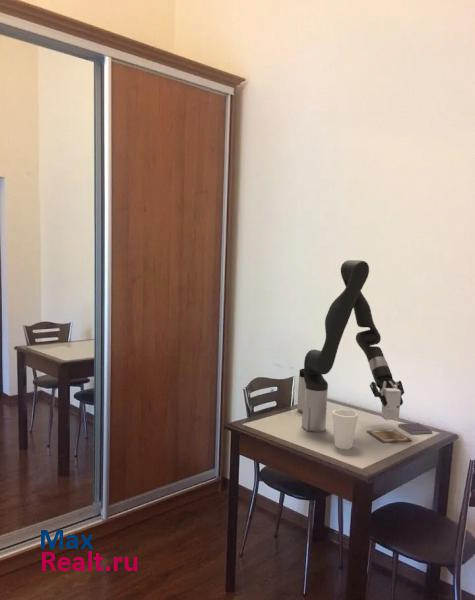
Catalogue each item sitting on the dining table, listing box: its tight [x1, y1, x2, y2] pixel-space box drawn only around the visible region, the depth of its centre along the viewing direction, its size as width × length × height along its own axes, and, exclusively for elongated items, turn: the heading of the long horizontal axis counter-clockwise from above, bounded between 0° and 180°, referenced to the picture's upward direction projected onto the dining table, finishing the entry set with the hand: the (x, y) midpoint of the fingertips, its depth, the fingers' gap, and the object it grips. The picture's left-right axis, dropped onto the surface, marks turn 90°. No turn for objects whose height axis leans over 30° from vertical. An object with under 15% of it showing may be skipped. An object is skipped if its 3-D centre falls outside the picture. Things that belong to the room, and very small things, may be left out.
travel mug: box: [297, 368, 306, 414], centre depth 240 cm, size 6×7×20 cm
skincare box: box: [381, 388, 402, 421], centre depth 209 cm, size 6×4×12 cm
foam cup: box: [331, 409, 359, 450], centre depth 196 cm, size 10×9×13 cm
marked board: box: [366, 429, 413, 444], centre depth 210 cm, size 13×13×1 cm
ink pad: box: [397, 422, 433, 435], centre depth 219 cm, size 10×10×1 cm
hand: (393, 404), depth 207 cm, fingers closed on skincare box, 6 cm apart
